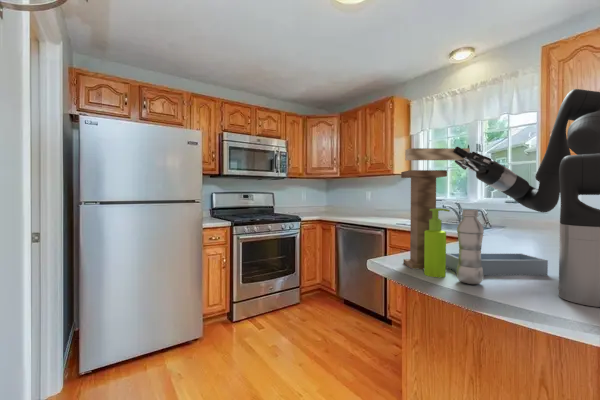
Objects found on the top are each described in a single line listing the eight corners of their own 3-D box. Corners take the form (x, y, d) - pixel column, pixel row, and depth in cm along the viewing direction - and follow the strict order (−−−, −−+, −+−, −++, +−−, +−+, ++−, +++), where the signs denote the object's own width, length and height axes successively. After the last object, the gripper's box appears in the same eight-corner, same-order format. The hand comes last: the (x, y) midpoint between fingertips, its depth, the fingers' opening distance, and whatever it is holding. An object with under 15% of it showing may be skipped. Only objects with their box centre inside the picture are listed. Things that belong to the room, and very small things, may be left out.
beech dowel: (463, 160, 101) (463, 150, 101) (469, 159, 97) (469, 148, 97) (405, 160, 101) (405, 150, 101) (409, 159, 97) (409, 148, 97)
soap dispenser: (452, 277, 86) (453, 208, 85) (429, 277, 86) (429, 208, 86) (443, 272, 92) (444, 208, 91) (421, 272, 92) (421, 207, 91)
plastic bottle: (456, 284, 79) (456, 210, 79) (456, 278, 85) (456, 209, 85) (484, 288, 76) (485, 210, 76) (482, 281, 82) (483, 209, 82)
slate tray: (521, 266, 99) (521, 253, 99) (547, 275, 88) (547, 260, 88) (444, 266, 99) (444, 253, 99) (462, 275, 88) (462, 260, 88)
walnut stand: (434, 263, 104) (435, 172, 103) (446, 269, 96) (447, 170, 95) (400, 263, 104) (401, 172, 103) (409, 269, 96) (409, 170, 95)
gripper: (488, 168, 106) (446, 144, 106) (517, 163, 92) (469, 136, 92) (477, 186, 106) (436, 162, 106) (504, 184, 92) (457, 157, 92)
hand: (452, 150), depth 99 cm, fingers closed on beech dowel, 3 cm apart
